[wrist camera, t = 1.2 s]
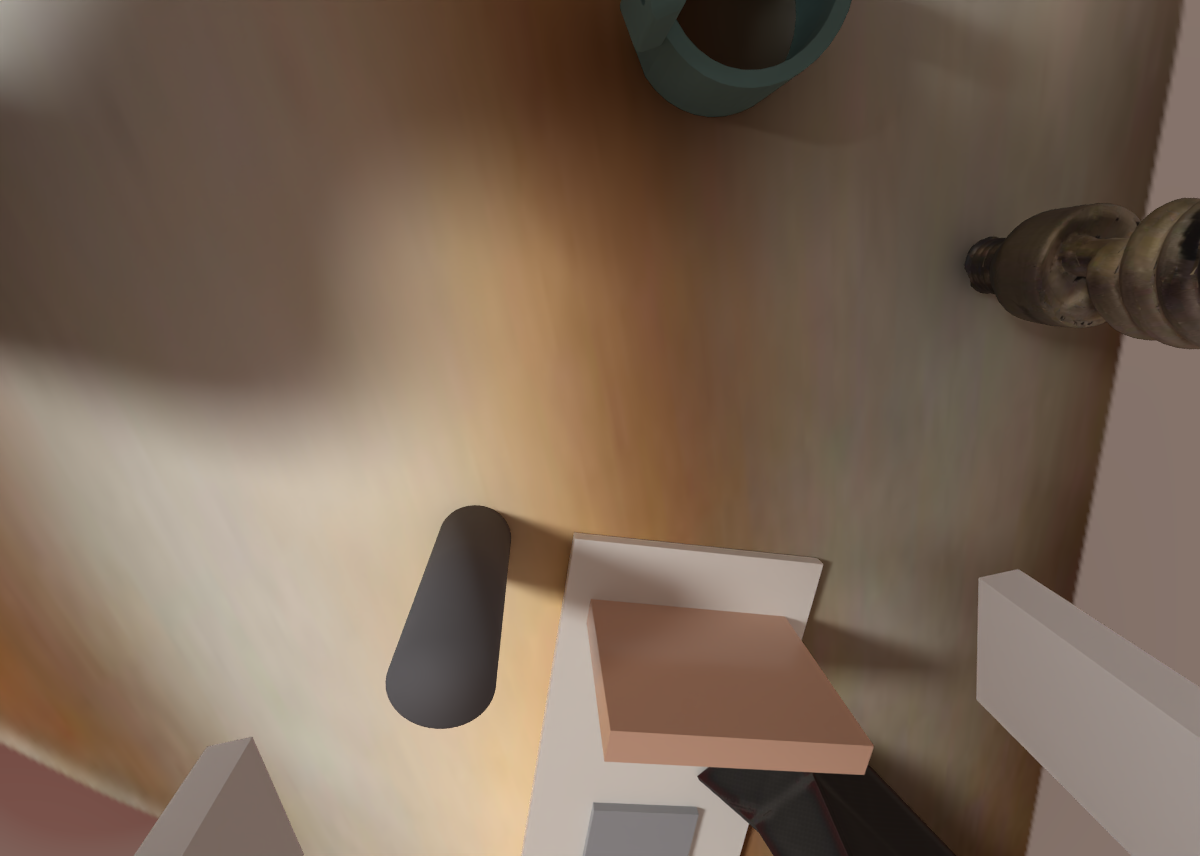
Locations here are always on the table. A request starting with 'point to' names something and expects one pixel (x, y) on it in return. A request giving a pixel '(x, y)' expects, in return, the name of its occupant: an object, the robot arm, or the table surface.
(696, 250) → the table surface
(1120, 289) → the light bulb
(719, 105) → the bracket
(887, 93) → the table surface
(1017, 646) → the robot arm
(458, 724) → the tool handle
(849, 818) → the barrier
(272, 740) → the table surface
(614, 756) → the tile
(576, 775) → the board
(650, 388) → the table surface
